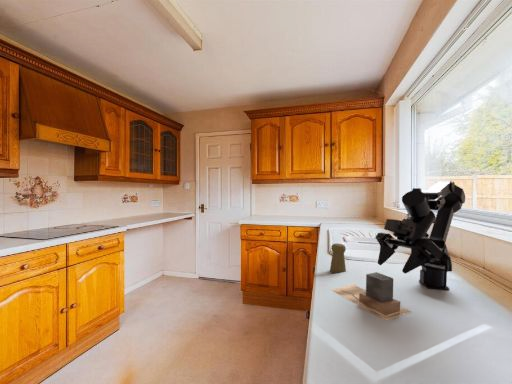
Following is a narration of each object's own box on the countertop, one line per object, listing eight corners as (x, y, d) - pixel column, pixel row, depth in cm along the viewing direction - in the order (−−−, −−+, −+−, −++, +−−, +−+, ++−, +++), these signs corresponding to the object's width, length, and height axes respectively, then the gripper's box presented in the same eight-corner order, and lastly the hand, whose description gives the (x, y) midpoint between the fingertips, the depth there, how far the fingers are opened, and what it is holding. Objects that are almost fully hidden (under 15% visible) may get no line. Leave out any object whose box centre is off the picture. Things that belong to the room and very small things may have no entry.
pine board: (330, 293, 77) (330, 289, 77) (354, 287, 81) (354, 284, 81) (386, 324, 60) (386, 320, 60) (412, 315, 64) (412, 311, 64)
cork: (343, 276, 92) (343, 246, 91) (327, 272, 95) (327, 244, 95) (348, 272, 96) (349, 243, 96) (332, 268, 100) (333, 241, 100)
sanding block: (359, 303, 68) (359, 272, 68) (373, 299, 71) (373, 270, 70) (385, 317, 61) (386, 283, 61) (399, 312, 63) (400, 279, 63)
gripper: (377, 208, 82) (351, 245, 79) (429, 209, 64) (398, 258, 61) (399, 229, 84) (374, 266, 81) (455, 236, 66) (426, 284, 63)
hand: (390, 268), depth 72 cm, fingers open, 9 cm apart
